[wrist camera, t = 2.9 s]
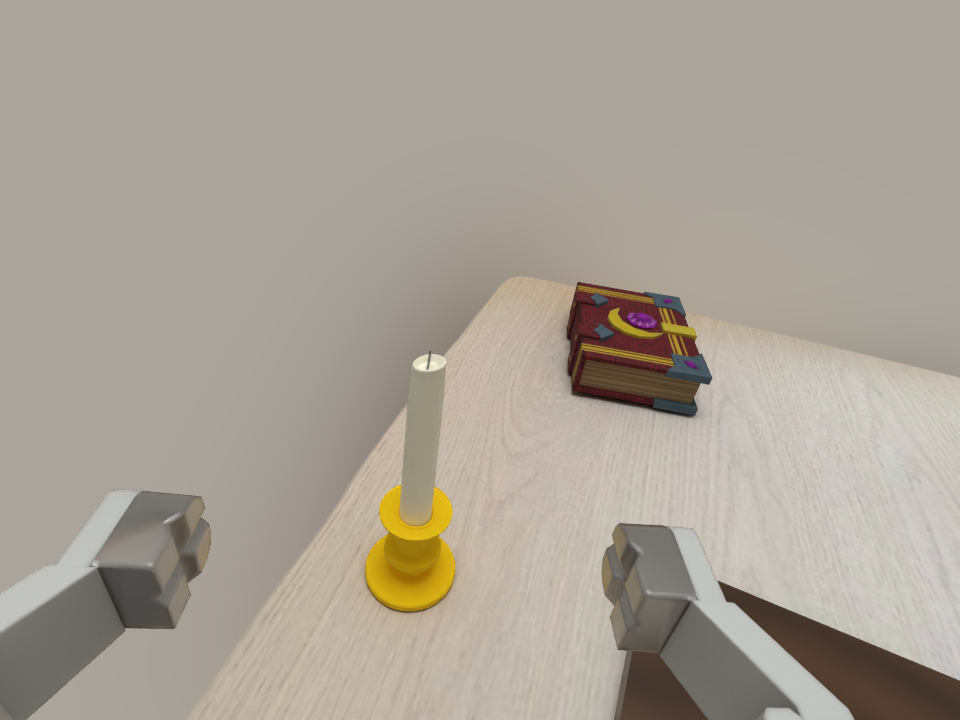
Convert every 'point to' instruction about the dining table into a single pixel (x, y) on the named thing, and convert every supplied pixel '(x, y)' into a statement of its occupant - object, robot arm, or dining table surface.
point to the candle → (416, 506)
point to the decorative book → (634, 348)
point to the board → (822, 652)
